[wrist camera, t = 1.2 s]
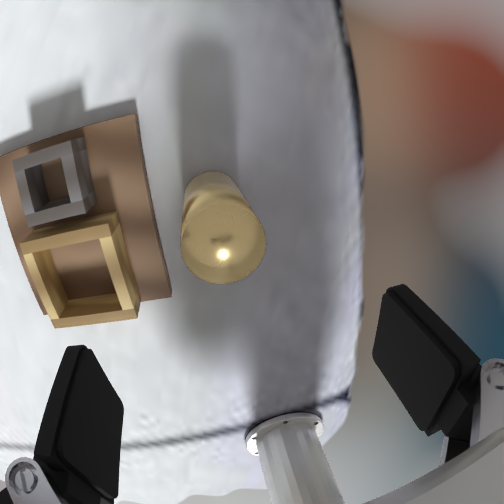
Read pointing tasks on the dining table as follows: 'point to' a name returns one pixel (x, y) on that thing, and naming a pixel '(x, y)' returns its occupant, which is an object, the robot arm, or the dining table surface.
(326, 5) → the dining table surface
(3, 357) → the dining table surface
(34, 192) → the board
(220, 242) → the beige cylinder
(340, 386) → the dining table surface
